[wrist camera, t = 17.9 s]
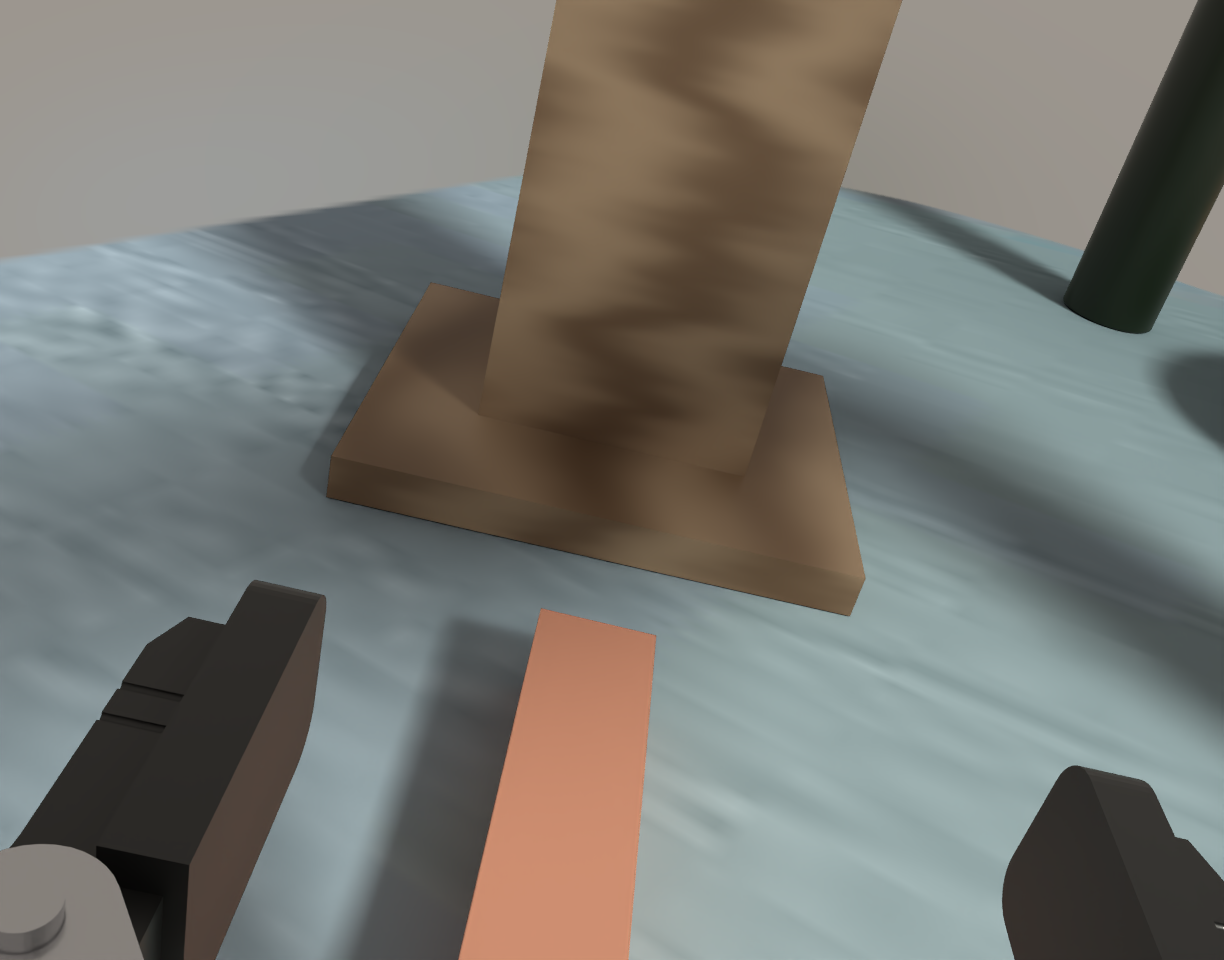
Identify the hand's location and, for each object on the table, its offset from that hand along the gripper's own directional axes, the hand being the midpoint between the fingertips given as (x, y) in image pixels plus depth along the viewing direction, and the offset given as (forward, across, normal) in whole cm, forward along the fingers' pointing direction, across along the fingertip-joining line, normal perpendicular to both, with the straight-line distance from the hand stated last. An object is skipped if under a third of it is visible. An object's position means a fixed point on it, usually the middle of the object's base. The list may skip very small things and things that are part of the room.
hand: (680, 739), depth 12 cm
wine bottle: (+64, -31, +14) cm, 73 cm away
